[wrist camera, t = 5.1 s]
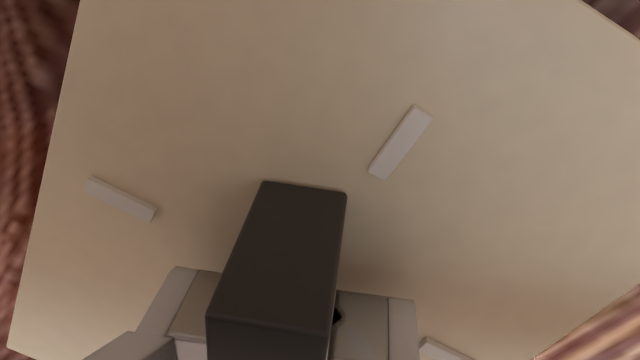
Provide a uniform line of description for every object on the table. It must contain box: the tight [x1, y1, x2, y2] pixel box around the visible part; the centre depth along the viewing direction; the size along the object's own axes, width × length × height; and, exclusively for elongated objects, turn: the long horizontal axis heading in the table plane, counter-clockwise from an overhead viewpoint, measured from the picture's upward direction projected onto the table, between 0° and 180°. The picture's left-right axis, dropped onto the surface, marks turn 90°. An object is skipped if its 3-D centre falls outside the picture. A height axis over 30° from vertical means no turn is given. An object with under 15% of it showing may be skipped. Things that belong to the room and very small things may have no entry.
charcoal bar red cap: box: [205, 180, 347, 360], centre depth 8 cm, size 5×2×4 cm, turn 174°
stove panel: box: [6, 0, 640, 360], centre depth 11 cm, size 14×11×3 cm
